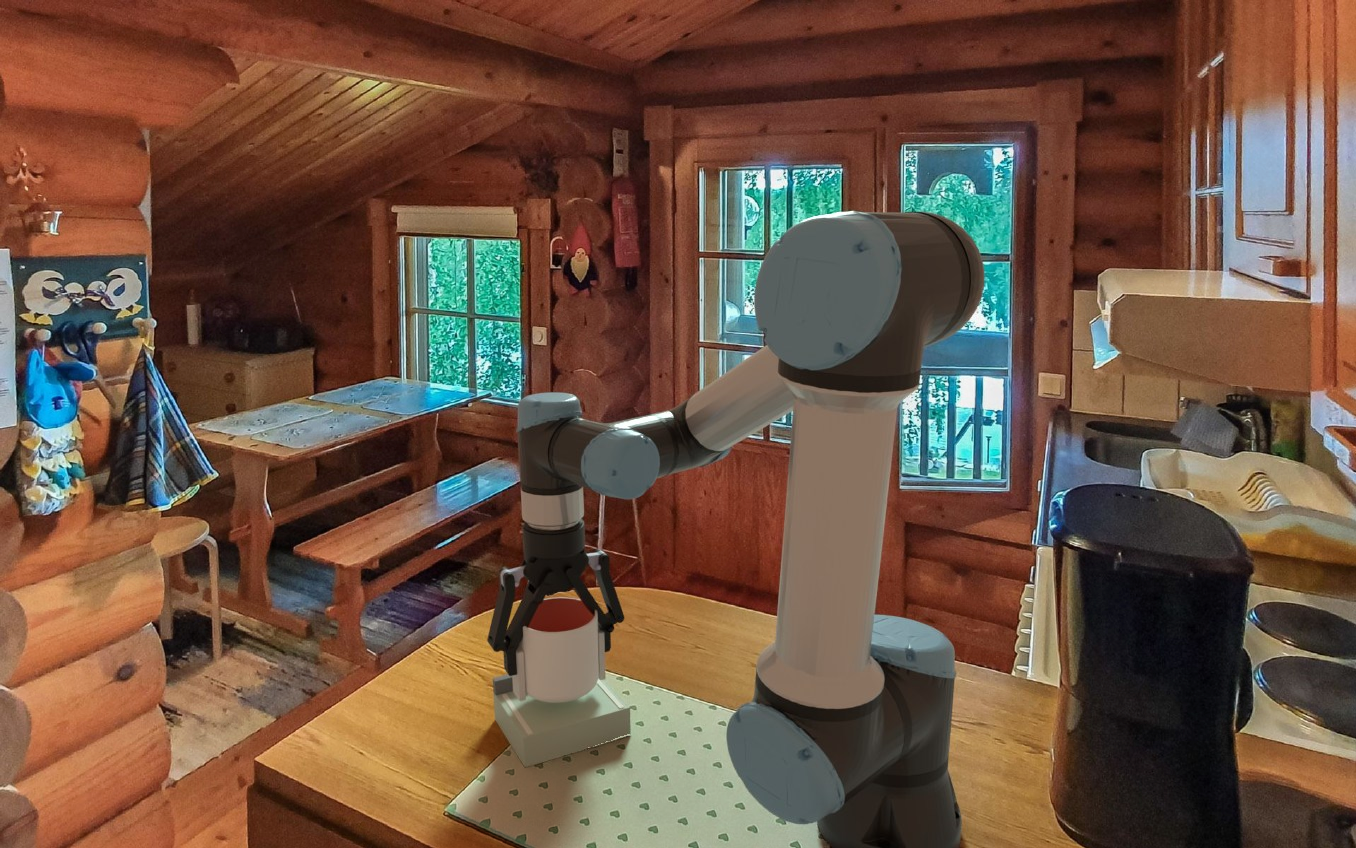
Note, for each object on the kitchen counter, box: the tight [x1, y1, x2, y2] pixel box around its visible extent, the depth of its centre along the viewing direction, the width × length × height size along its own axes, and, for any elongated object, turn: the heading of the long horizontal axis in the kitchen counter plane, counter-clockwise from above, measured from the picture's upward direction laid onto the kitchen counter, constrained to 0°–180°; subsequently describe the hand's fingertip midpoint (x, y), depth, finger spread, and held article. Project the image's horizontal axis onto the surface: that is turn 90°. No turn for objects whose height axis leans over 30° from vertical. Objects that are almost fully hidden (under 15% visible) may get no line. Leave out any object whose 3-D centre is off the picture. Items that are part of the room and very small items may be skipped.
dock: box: [492, 673, 632, 768], centre depth 116 cm, size 12×14×6 cm
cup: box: [519, 596, 599, 703], centre depth 115 cm, size 10×10×10 cm
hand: (559, 685), depth 116 cm, fingers closed on cup, 10 cm apart
